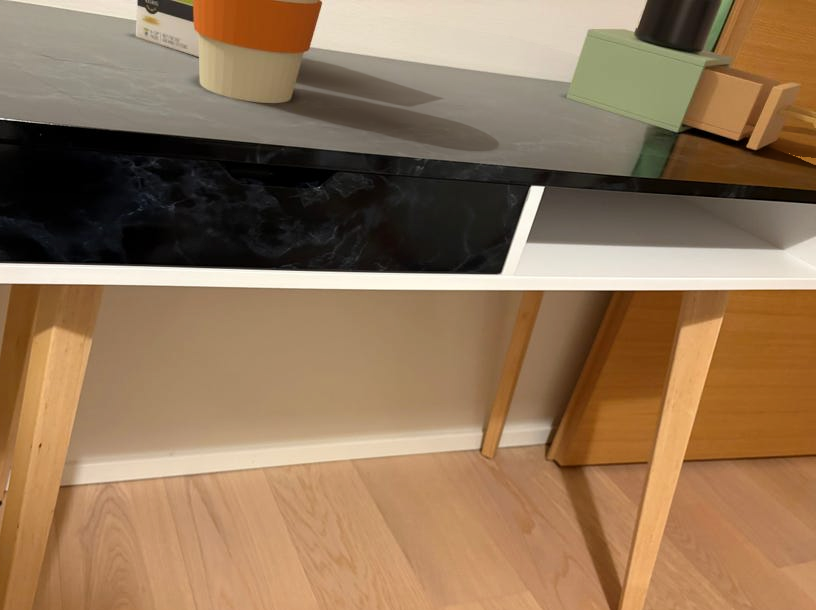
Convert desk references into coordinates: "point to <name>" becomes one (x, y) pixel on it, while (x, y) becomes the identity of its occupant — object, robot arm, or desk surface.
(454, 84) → the desk surface
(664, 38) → the ink bottle
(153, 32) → the tea box
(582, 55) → the cabinet
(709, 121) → the drawer
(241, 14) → the reusable coffee cup
